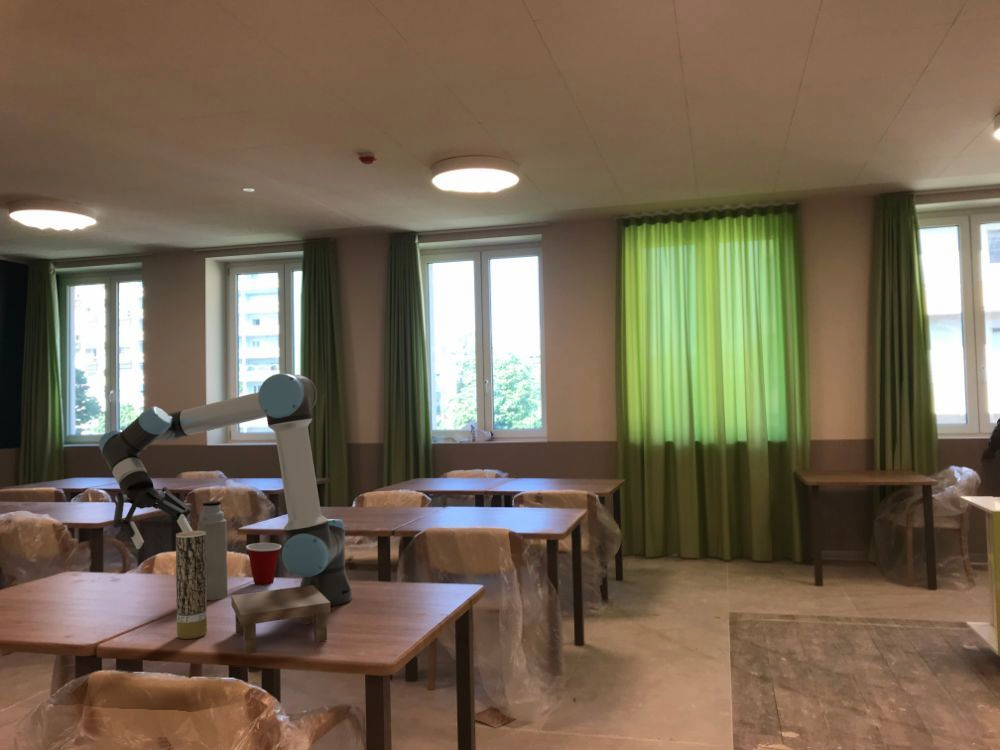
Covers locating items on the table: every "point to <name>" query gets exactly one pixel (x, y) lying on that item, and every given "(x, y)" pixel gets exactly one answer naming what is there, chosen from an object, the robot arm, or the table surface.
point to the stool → (279, 611)
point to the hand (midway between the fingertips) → (166, 540)
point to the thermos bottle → (215, 549)
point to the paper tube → (191, 584)
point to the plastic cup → (263, 561)
